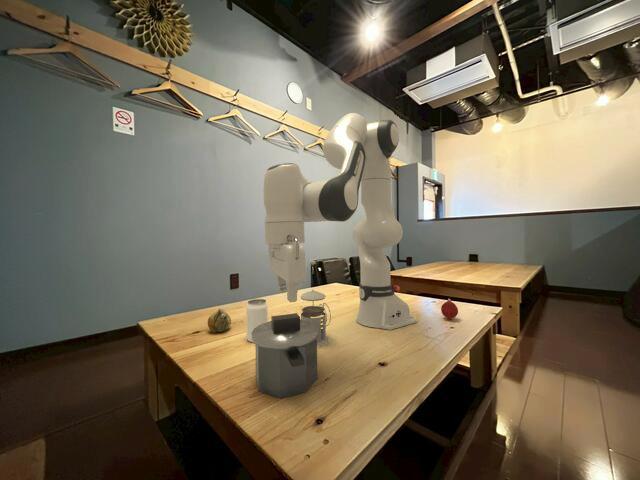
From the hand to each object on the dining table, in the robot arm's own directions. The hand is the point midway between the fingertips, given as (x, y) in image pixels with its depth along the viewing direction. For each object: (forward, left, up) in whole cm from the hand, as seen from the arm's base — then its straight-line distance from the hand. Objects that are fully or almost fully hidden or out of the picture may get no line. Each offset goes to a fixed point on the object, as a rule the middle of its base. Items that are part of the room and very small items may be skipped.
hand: (287, 296), depth 57 cm
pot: (0, 0, -19) cm, 19 cm away
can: (+4, -25, -19) cm, 32 cm away
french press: (-13, -17, -19) cm, 28 cm away
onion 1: (+15, -37, -19) cm, 44 cm away
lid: (0, 0, -9) cm, 9 cm away
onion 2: (-67, -16, -19) cm, 71 cm away
